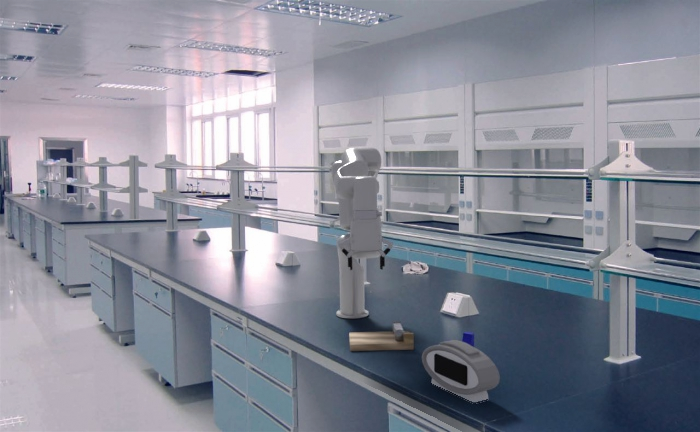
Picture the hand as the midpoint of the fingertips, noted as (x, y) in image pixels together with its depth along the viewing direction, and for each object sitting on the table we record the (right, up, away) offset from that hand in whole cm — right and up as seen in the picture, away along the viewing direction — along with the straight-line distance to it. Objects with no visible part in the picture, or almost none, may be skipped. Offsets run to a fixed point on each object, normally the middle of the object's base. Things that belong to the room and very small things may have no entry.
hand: (366, 269), depth 197 cm
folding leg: (+11, -22, +5) cm, 25 cm away
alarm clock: (+23, -28, -39) cm, 53 cm away
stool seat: (+5, -25, +4) cm, 25 cm away
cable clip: (+29, -26, -10) cm, 40 cm away
